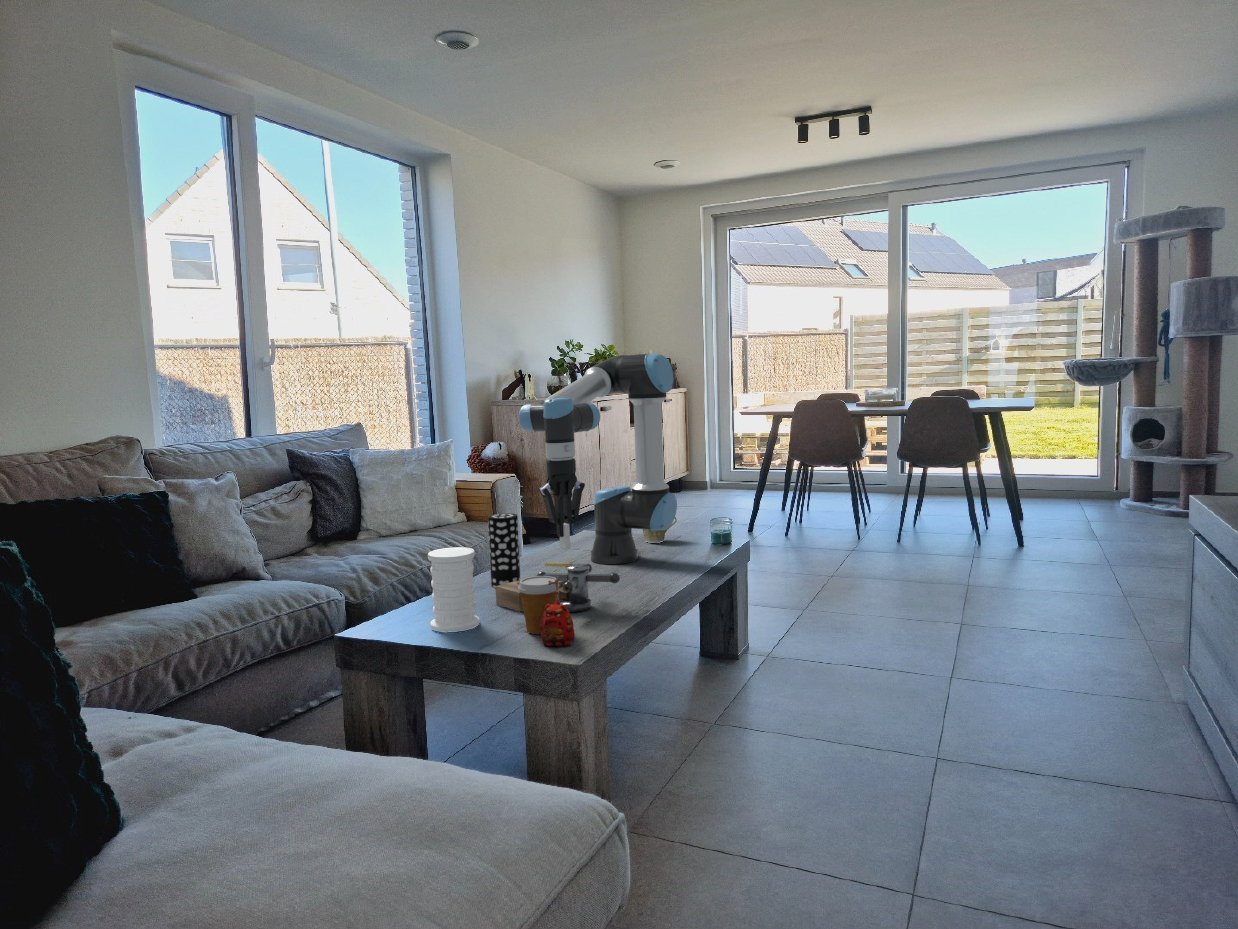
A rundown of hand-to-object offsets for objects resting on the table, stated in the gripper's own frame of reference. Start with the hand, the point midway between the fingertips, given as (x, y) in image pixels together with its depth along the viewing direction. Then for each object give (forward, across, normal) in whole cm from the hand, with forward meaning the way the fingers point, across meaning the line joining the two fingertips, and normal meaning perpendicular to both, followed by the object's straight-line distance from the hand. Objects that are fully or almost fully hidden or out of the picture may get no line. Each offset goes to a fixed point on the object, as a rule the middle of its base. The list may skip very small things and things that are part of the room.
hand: (565, 548), depth 210 cm
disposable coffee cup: (+14, -18, -17) cm, 29 cm away
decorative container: (+14, -32, 0) cm, 35 cm away
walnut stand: (+14, -6, +3) cm, 16 cm away
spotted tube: (+15, -4, +26) cm, 31 cm away
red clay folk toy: (+14, -20, -27) cm, 36 cm away
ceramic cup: (+16, +65, +42) cm, 79 cm away
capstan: (+14, -1, -8) cm, 16 cm away
